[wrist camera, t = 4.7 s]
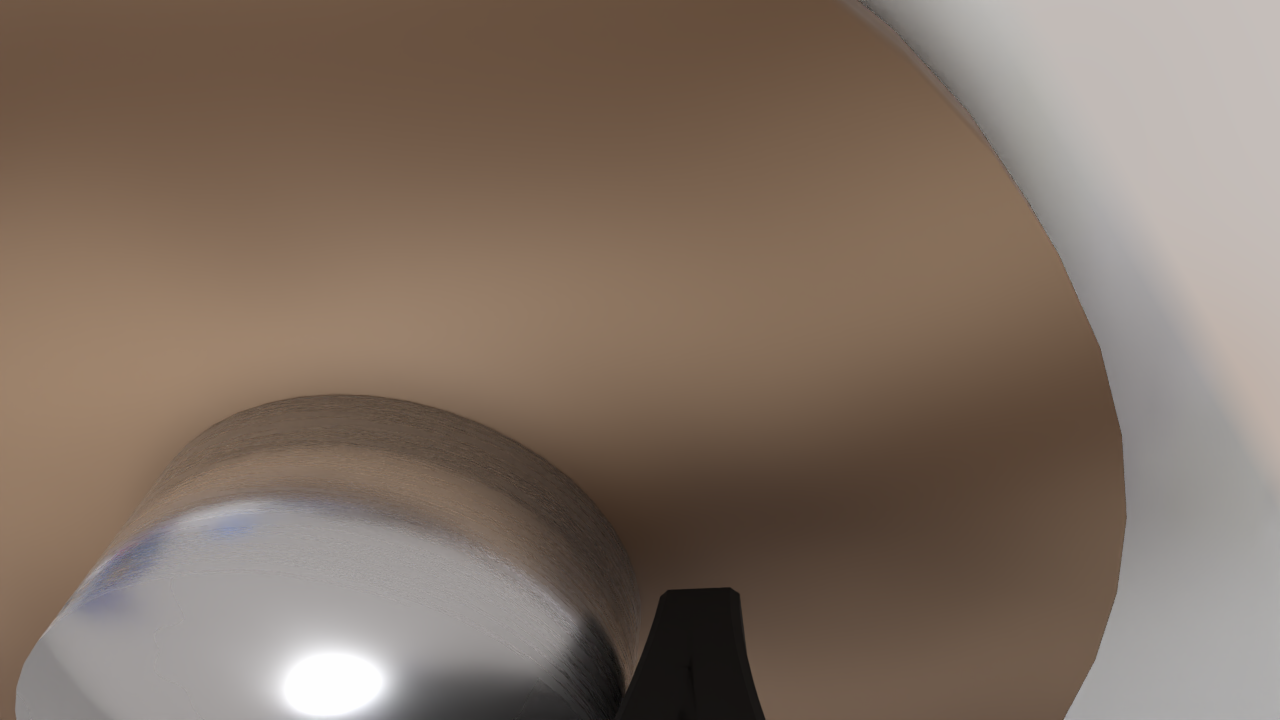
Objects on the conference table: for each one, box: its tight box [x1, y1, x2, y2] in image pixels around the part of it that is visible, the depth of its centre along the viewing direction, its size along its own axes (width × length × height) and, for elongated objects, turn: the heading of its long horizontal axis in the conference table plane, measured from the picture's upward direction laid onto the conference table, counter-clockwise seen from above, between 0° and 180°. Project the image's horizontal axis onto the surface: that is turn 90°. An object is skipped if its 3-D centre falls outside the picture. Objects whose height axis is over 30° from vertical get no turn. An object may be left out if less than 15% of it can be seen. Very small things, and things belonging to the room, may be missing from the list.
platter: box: [0, 0, 1127, 720], centre depth 14 cm, size 20×20×4 cm
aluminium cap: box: [15, 395, 641, 720], centre depth 13 cm, size 7×7×3 cm
